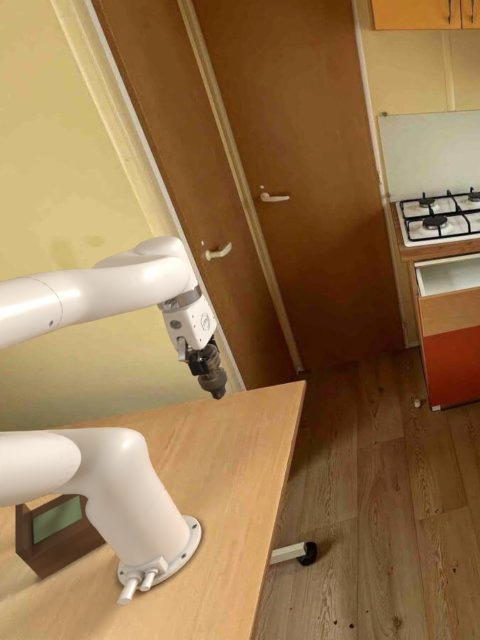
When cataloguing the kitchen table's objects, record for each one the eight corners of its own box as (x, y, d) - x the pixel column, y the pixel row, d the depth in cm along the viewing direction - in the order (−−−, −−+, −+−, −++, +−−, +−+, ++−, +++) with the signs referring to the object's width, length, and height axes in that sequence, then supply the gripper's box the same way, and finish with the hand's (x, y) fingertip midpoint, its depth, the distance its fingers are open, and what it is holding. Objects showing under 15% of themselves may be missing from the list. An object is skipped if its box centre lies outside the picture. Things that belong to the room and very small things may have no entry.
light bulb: (201, 399, 98) (179, 348, 91) (226, 385, 102) (206, 335, 95) (214, 409, 95) (191, 357, 88) (239, 394, 99) (219, 343, 92)
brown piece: (99, 500, 89) (79, 472, 85) (107, 541, 82) (85, 514, 78) (39, 532, 83) (15, 504, 79) (42, 580, 76) (15, 552, 72)
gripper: (183, 316, 79) (213, 388, 87) (213, 273, 94) (237, 338, 102) (136, 322, 77) (171, 395, 86) (174, 278, 92) (201, 343, 100)
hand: (206, 363), depth 94 cm, fingers closed on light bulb, 5 cm apart
